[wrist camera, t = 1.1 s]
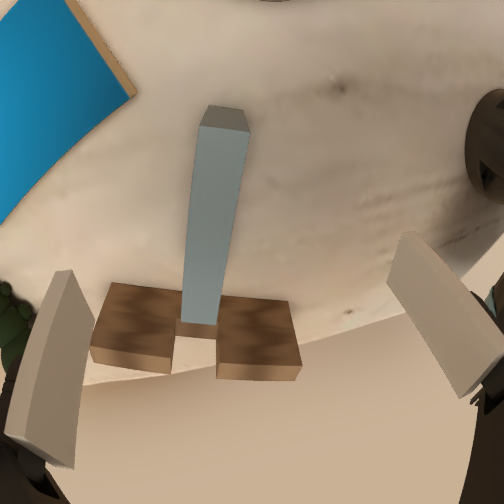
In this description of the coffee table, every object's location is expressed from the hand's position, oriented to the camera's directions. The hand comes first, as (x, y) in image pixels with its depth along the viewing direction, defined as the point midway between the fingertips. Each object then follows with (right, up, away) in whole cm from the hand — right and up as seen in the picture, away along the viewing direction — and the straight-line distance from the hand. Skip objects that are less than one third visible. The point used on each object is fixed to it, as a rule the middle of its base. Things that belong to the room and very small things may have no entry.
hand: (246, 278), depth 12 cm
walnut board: (-6, -5, +26) cm, 27 cm away
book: (-25, +16, +11) cm, 31 cm away
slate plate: (-4, +7, +18) cm, 19 cm away
